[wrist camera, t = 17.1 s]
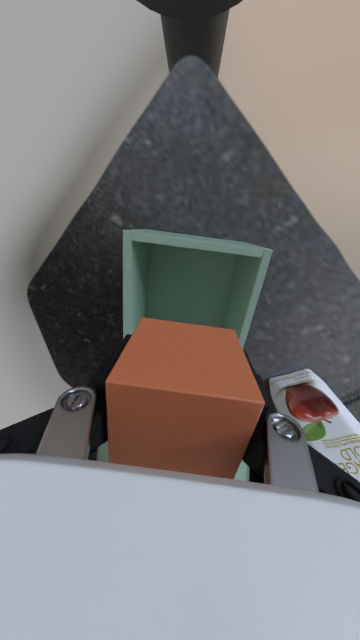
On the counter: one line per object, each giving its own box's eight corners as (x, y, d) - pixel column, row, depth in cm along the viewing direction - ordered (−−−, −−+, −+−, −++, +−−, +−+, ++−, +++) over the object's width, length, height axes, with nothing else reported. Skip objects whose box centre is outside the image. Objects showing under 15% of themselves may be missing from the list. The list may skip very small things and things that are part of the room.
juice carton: (318, 394, 37) (429, 540, 20) (271, 405, 39) (335, 547, 22) (313, 362, 34) (435, 500, 17) (262, 376, 36) (326, 513, 19)
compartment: (145, 229, 27) (122, 230, 18) (246, 242, 27) (273, 250, 18) (141, 330, 33) (123, 368, 24) (222, 341, 33) (232, 383, 24)
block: (142, 316, 11) (104, 381, 6) (234, 329, 11) (266, 402, 6) (138, 387, 13) (108, 475, 8) (216, 398, 13) (229, 491, 8)
